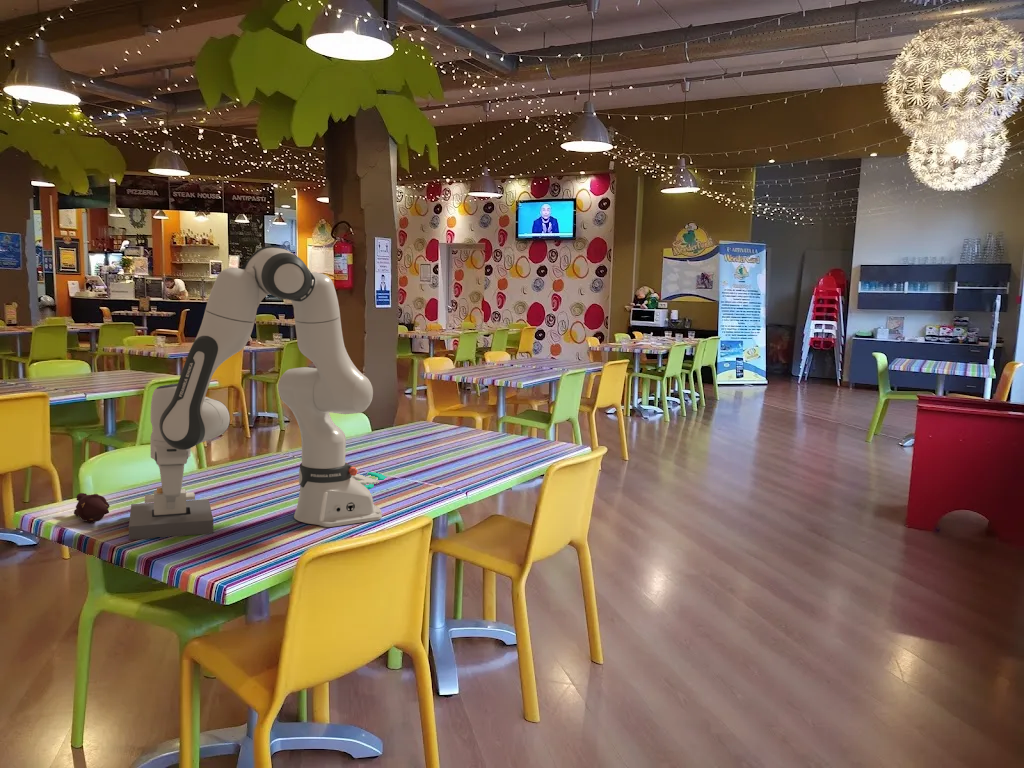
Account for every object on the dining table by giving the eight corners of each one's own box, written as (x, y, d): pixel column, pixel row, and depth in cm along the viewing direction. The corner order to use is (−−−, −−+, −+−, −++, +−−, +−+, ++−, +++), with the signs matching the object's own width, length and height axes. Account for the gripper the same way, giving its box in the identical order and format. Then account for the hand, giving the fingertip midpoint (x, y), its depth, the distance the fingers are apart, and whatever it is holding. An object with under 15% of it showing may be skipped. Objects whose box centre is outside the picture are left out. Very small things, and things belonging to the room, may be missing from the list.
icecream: (126, 498, 180) (95, 491, 189) (95, 496, 174) (64, 489, 183) (120, 527, 179) (89, 518, 188) (89, 526, 173) (58, 517, 182)
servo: (193, 507, 185) (194, 484, 184) (194, 512, 182) (195, 488, 181) (144, 511, 180) (144, 487, 180) (144, 515, 177) (144, 491, 176)
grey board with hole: (208, 511, 194) (208, 499, 194) (213, 533, 178) (213, 520, 178) (131, 516, 186) (131, 504, 186) (128, 540, 170) (128, 526, 170)
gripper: (155, 441, 187) (155, 494, 189) (157, 459, 169) (156, 518, 170) (182, 440, 190) (182, 493, 191) (187, 458, 172) (186, 516, 173)
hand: (170, 505), depth 181 cm, fingers closed on servo, 4 cm apart
